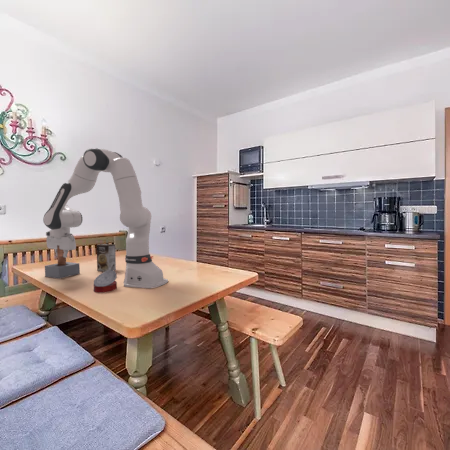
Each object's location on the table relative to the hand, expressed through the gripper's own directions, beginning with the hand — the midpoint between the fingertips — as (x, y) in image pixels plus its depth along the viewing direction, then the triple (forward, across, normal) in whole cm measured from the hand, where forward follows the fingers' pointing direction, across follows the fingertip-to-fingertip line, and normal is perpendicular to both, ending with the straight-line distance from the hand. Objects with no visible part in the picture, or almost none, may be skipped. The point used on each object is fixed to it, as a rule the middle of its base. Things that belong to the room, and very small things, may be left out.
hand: (61, 257), depth 144 cm
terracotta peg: (+5, 0, 0) cm, 5 cm away
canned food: (+11, -44, +10) cm, 47 cm away
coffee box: (+10, -14, -18) cm, 25 cm away
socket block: (+10, 0, 0) cm, 10 cm away
